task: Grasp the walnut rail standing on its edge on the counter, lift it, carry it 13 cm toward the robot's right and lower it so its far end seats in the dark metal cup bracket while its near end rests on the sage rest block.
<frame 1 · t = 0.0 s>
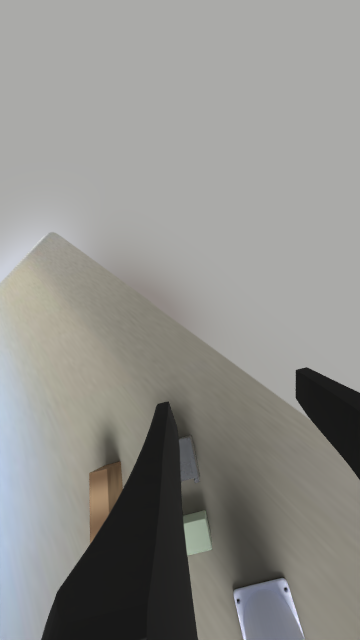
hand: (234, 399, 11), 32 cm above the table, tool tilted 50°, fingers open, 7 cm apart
cup bracket: (180, 456, 37), on the table
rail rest: (193, 527, 33), on the table
walnut rail: (116, 510, 35), on the table
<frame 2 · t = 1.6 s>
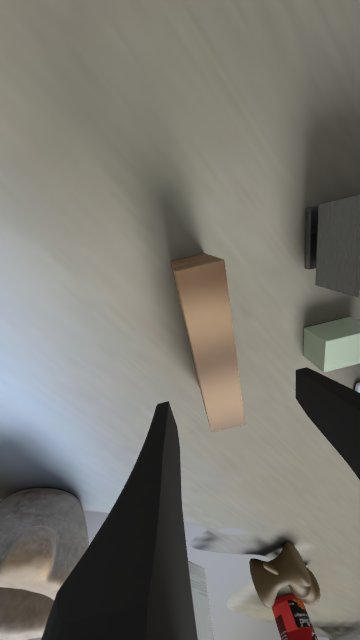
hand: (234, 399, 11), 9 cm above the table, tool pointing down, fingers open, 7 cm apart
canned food: (285, 598, 52), on the table
mortar: (44, 503, 28), on the table
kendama: (279, 553, 42), on the table
cup bracket: (332, 239, 18), on the table
supplement box: (180, 568, 40), on the table
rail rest: (326, 336, 21), on the table
walnut rail: (201, 328, 20), on the table
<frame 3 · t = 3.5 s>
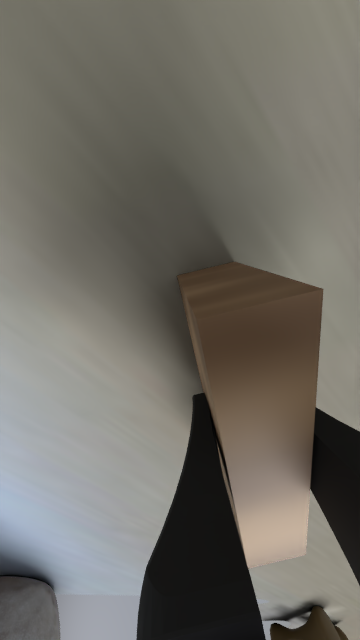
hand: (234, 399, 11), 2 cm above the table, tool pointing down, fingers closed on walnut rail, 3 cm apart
mortar: (5, 589, 21), on the table
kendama: (304, 615, 35), on the table
walnut rail: (223, 376, 13), on the table, touching gripper
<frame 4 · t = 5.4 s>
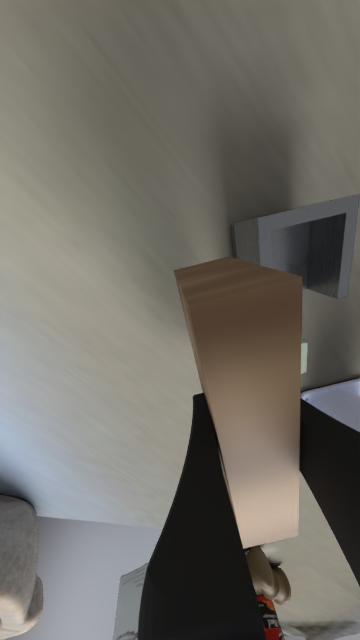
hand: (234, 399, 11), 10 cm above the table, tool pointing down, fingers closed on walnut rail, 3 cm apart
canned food: (256, 599, 52), on the table
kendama: (248, 555, 42), on the table
cup bracket: (261, 254, 18), on the table
supplement box: (145, 571, 40), on the table
walnut rail: (220, 368, 13), point 7 cm above the table, touching gripper
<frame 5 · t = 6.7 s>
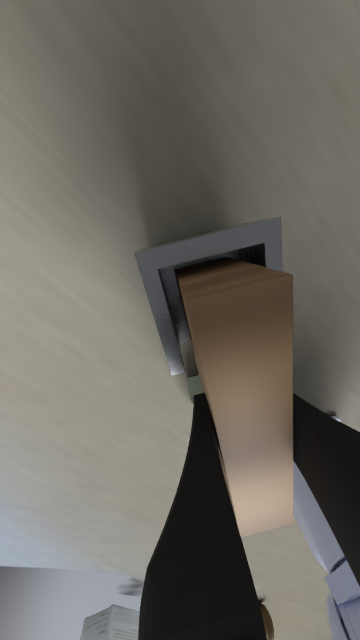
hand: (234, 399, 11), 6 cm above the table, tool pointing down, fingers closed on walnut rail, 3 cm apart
cup bracket: (196, 281, 14), on the table
supplement box: (113, 612, 37), on the table
walnut rail: (218, 364, 14), point 3 cm above the table, touching gripper
when the fingers open (6 cm above the table, at t = 7.5 s): walnut rail stays where it is, resting on cup bracket, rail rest.
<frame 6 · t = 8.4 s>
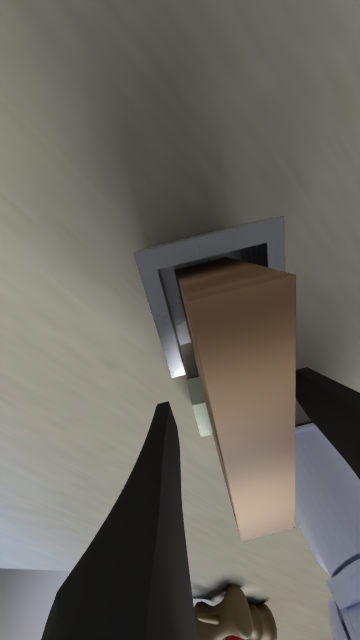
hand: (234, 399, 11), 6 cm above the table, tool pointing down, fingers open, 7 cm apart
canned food: (241, 634, 48), on the table
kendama: (229, 594, 39), on the table
cup bracket: (197, 281, 14), on the table
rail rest: (217, 387, 18), on the table
walnut rail: (219, 365, 14), point 3 cm above the table, touching cup bracket, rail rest
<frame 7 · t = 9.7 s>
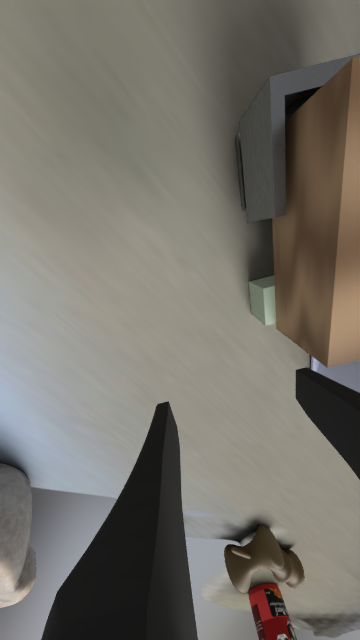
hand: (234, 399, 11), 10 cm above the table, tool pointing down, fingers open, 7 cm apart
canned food: (262, 587, 50), on the table
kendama: (257, 538, 40), on the table
cup bracket: (269, 175, 16), on the table
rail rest: (274, 292, 20), on the table
walnut rail: (292, 244, 15), point 3 cm above the table, touching cup bracket, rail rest
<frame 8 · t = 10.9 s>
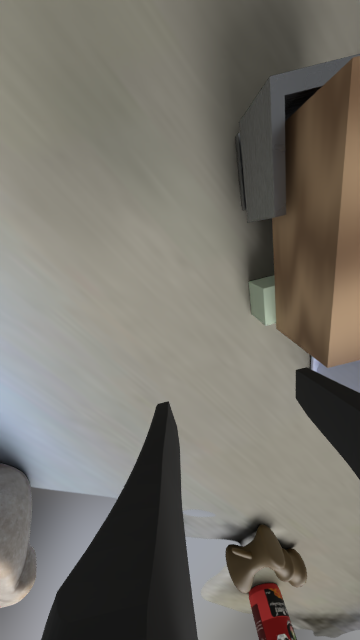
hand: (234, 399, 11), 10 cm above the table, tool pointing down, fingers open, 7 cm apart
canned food: (262, 587, 50), on the table
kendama: (259, 537, 40), on the table
cup bracket: (269, 175, 16), on the table
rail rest: (274, 292, 20), on the table
walnut rail: (292, 244, 15), point 3 cm above the table, touching cup bracket, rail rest
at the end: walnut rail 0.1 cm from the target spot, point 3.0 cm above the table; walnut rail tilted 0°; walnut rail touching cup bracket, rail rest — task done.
